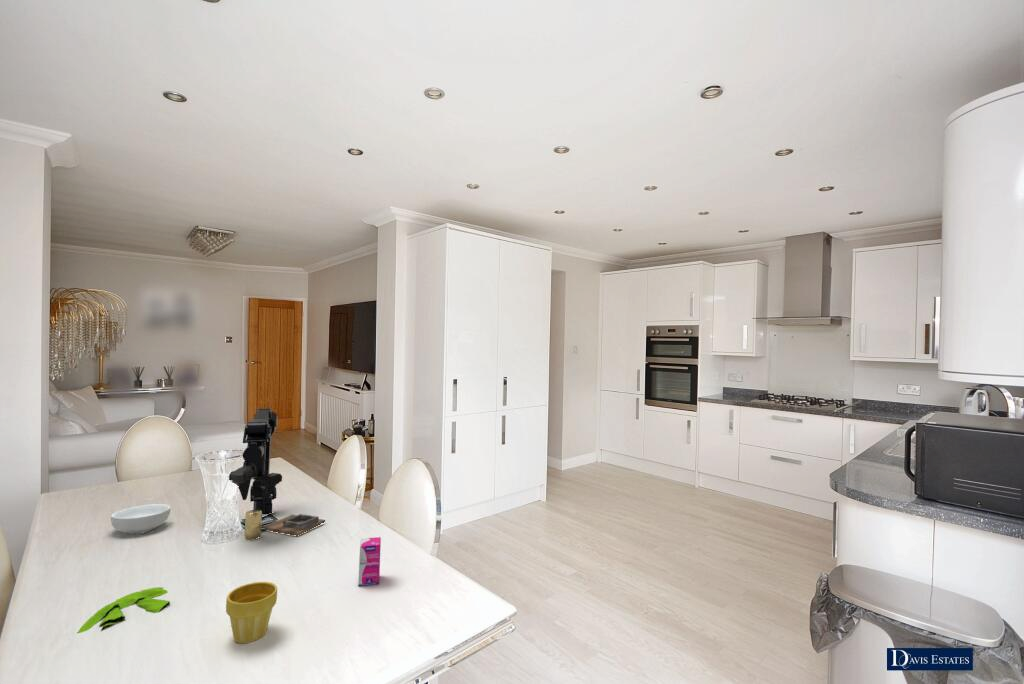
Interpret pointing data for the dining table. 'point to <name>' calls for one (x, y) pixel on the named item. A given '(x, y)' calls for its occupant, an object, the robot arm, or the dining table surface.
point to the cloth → (124, 602)
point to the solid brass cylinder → (253, 524)
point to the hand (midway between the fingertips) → (254, 501)
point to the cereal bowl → (140, 518)
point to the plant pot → (251, 610)
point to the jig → (294, 524)
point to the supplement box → (369, 561)
